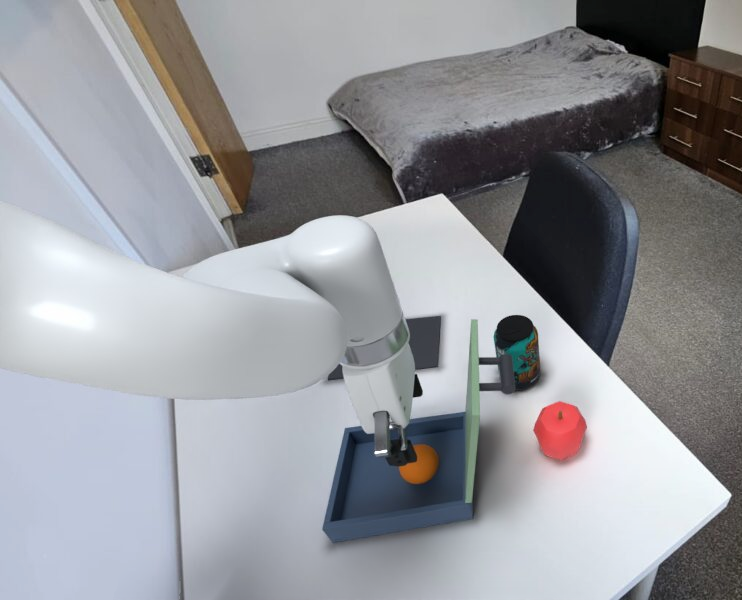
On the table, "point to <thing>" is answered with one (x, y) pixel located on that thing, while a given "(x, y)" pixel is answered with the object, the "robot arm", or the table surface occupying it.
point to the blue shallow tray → (397, 483)
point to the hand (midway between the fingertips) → (407, 427)
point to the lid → (474, 400)
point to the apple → (560, 430)
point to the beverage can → (519, 348)
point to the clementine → (421, 465)
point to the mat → (416, 344)
